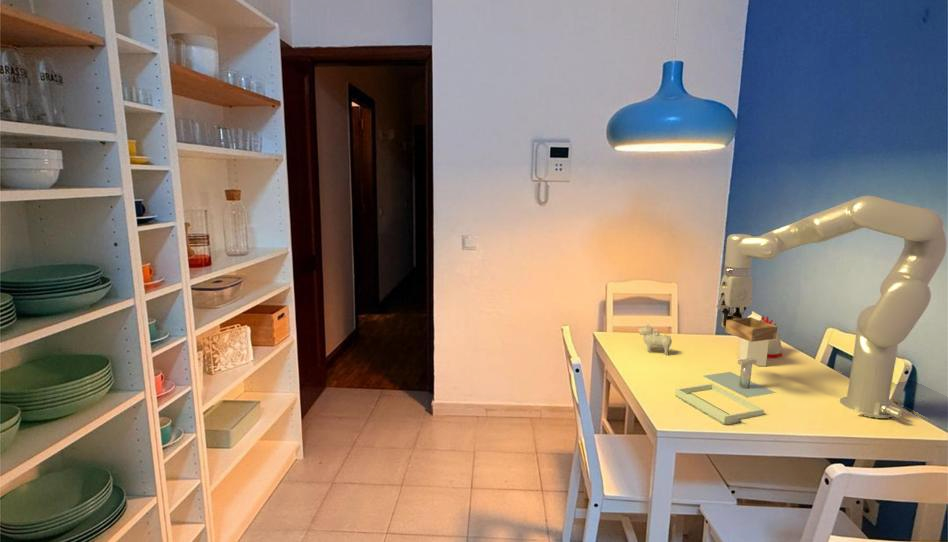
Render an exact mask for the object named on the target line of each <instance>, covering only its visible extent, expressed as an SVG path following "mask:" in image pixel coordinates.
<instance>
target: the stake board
mask: <svg viewBox="0 0 948 542" xmlns="http://www.w3.org/2000/svg"><path fill="white" fill-rule="evenodd" d="M703 377H704V378H707V379H708V380H710V381H712V382H714V383H716V384H718V385H720V386H722V387H724V388H727V390H731V391H732V392H735V393H737V394H738V395H741V396H743V397H745V398H753V397H759V396H765V395H770V394H775V393H777V392H775V391H773V390H771V389H769V388H767V387H765V386H762V385H760V384H758V383H756V382H754V381H751V380H750V388H749V389H744V388H741V387H739V382H740V375H738V374H735V373H733V372H732V371H726V372H719V373H713V374H712V373H711V374H704V375H703Z"/></svg>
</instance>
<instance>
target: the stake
mask: <svg viewBox="0 0 948 542" xmlns="http://www.w3.org/2000/svg"><path fill="white" fill-rule="evenodd" d="M755 363H756V359H753V358H749V359H742V360H741V359H737V364H738V365H740V374H739V376H740V382H739V387H741V388H744V389H749V388H750V381H751V376H752V370H753V364H755Z"/></svg>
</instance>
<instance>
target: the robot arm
mask: <svg viewBox="0 0 948 542" xmlns="http://www.w3.org/2000/svg"><path fill="white" fill-rule="evenodd" d="M863 228H865V229H867V230H872V231H874V232H878V233H882V234H885V235H890V236H894V237H898V238H901V239H903V240H904V245H903V249H902V251H901V253H900V255H899V256H898V259H897V260H896V262H895V263H894V265H893V266H892V268H891V269H890V271H889V272H888V274H887V275H886V276H885V278H884V280H883V281H882V282H881V284H880V288H879V292H880V297H879V299H878V301H877V302H876V304H875V305H874V304H873V305H870V306H867V307H865V308H864V309H863V310H862V311H860V313H859V315H858V317H857V319H856V328H855V329H856V331H855V332H856V333H855V340H854V349H853V355H852V362H851V368H850V374H849V382H848V389H847V393H846V396H843V397H841V398H840V399H839V402H840V404H841V405H842V406H844V407H845V408H847V409H849V410H852V411H854V412H857V413H859V416H862V415H864V417H866V416H868V417H867V418H871V417H875V418H874V419H878V418H888V419H890V418H889V417H892V416H893V417H895V418H897V419H901V417H902V416H903V409H902V408H899V407H895V406H894V400H892V399H890V394H891V391H892V383H893V378H894V373H895V365H896V361H897V355H898V346H899V344H901V343H902V342H903V341H905V339H906V338H907V337H908V336H909V334H910V333H911V332H912V330H913V329H914V327H915V326H916V324H917V323H918V322H919V320H920V318H921V317H922V315H923V314H924V312H925V311H926V309H927V308H928V306H929V305H930V302H931V299H932V292H931V289H930V287H929V283H930V282H931V280H932V279H933V277H934V276H935V274H936V272H937V271H938V269H939V267H940V266H941V264H942V262H943V260H944V259H945V257H946V252H947V248H948V247H947V245H948V243H947V241H948V240H947V236H946V233H945V229H944V220H943V218H942V216H941V215H940V214H939V213H938V212H936V211H934V210H932V209H928V208H923V207H921V206H920V207H919V206H914V205H909V204H906V203H900V202H897V201H892V200H889V199H885V198H882V197H877V196H874V195H863V196H859V197H856V198H853V199H850V200H848V201H845V202H843V203H840V204H837V205H835V206H832V207H831V208H827V209H825V210H822V211H820V212H817V213H814V214H811V215H809V216H807V217H804V218H801V219H800V220H798V221H795V222H793V223H790V224H787V225H784V226H781V227H778V228H776V229H774V230H771V231H769V232H766V233H763V234H761V235H759V236H752V235H751V234H745V233H732V234H729V235H728V236H727V238H726V244H725V245H726V246H725V255H724V257H725V259H724V268H723V270H722V273H723V276H722V278H721V281H720V286H719V292H718V298H717V299H718V303H717V305H716V308H717V309H718V310H720V312H721V313H722V316H723V315H724V320H723V326H725V327H726V320H731V319H733V316H732V315H734V316H737V317H740V318H743V316H744V314H745V311H747V309H748V308H749V307H751V305H752V303H753V289H754V287H753V278H752V276H751V269H752V259H753V258H754V259H758V260H764V261H768V260H773V259H774V258H776V257H777V256H779V254H780V253H784V252H786V251H788V250H792V249H795V248H797V247H801V246H805V245H808V244H817V243H823V242H827V241H829V240H830V241H831V240H832V239H835V238H837V237H840V236H843V235H846V234H847V235H848V234H849V233H852V232H855V231H858V230H860V229H863ZM733 311H734V312H733ZM725 327H724V328H725ZM893 417H892V418H893Z"/></svg>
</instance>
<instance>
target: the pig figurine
mask: <svg viewBox="0 0 948 542" xmlns="http://www.w3.org/2000/svg"><path fill="white" fill-rule="evenodd" d="M637 329H638V333H639V334H640V335H641V336H643V337H642V338H643V341H644V343H645V344H646V346H647V350H646V351H647V352H651V350H652V348H653V346H654V347H656V348H657V347H658V348H662V349H664V352H663V356H664V355H668V353H670V348H671V345H672V342H673V341H672V337H671V336H670V335H667V334H664V335H661V334H660V332H661V331H660V330H659V329H653V327H652V326H650V324H646V325H644V326H643V327H639V328H637ZM650 349H651V350H650ZM647 352H646V353H647Z"/></svg>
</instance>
